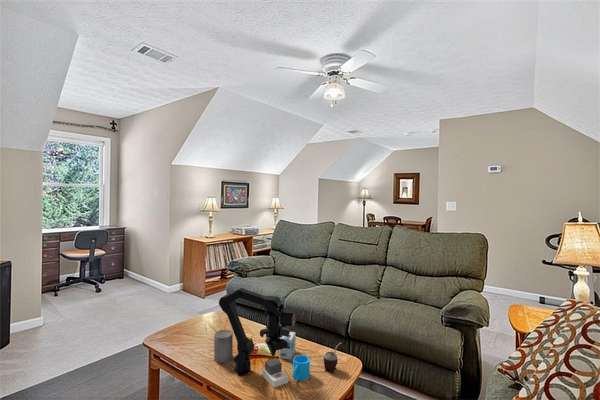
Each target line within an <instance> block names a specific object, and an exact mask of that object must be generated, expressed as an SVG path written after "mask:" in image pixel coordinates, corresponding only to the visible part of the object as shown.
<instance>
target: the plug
mask: <svg viewBox="0 0 600 400" xmlns="http://www.w3.org/2000/svg"><path fill="white" fill-rule="evenodd" d="M282 365H283V364H282V362H281V361H280V360H279V359H278V358H276V357H275V358H273V359H269V360H266V361H264V368H265V370H266V371H267V373H268V374H269V375H272V374H275V373H278V372H281V371H283V370H282Z"/></svg>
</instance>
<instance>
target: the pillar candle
mask: <svg viewBox="0 0 600 400" xmlns="http://www.w3.org/2000/svg"><path fill="white" fill-rule="evenodd" d="M233 334H234V332H233V330H230V329H220V330H216V332H214V334H213V335H214V337H213V339H214V341H213V342H214V344H213V347H214V348H213V349H214V351H213V353H214V354H213V358H214V359H213V360H214V362H215V363H217V364H222V363H223V364H224V363H228V362H230V361H232V360H233V357H234V353H233V352H234V351H233V349H234V348H233V345H234V344H233V343H234V342H233V340H234V339H233Z"/></svg>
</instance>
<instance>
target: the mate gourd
mask: <svg viewBox="0 0 600 400" xmlns="http://www.w3.org/2000/svg"><path fill="white" fill-rule="evenodd" d="M341 344H343V342H339V343H338V344H336V346H335V349H334V352H333V351H327V352H325V354H324V355H323V365H324V372H329V371H330V372H331V373H332V374H334V373H335V371H334V370H336V369H337V368H336V367H337V365H338V362H339V361H338V356H337V354H336V351H337V349H338V347H339V346H340V345H341Z"/></svg>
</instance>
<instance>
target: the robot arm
mask: <svg viewBox="0 0 600 400" xmlns="http://www.w3.org/2000/svg"><path fill="white" fill-rule="evenodd" d="M238 299H241V300H245V301H246V302H247V301H248V302H250V303H254V304H257V305H260V306H261V307H262V308H264V309H265V311H264V312H263V315H266V316H267V325H265V328H262V329H260V331H259V336H260V337H261V338H264V336H265V340H264V341H265V344H266V345H267V348H268V350H269V353H270V354H271V357H275V355H276V354H277V351H280V349H284V348H287V347H288V342H287V341H285V340H284V339H280V338H281V337H282V336H287V337H289V333H290V332H291V329H289V328H288V327H291V328H294V327H295V325H296V314H295V311H288V310H286V308H285V306H284V304H283V303H282V300H281V298H280V297H278V296H276V295H264V294H260V293H256V292H254V291H250V290H248V289H245V288H242V287H239V288H238V289H236V290H235V291H234V292H233V293H230V292H229V293H227V294H225V295H223V296H222V297H220V298H219V300H218V305H219V307H220V309H221V311H222V312H224V313H225V314H226V316H227V319H228V321H229V324H230V327H231V329H232V332H233V334H234V336H235V339H236V342H237V343H236V345H237V346H236V348H237V349H236V350H237V354H236V355H235V356H233V357H234V358H233V361H234V363H235V368H234V369H233V371H234V372H235V373H236V374H237V376H239V377H240V376H244V375H248V374H250V373H252V370H251V359H250V356H251V355H252V354H253V353H254V352H255V344H254V342H253V338H250V339H249V338H248V336H247V335H246V332H245V329H244V327H243V324H242V321H241V319H240V317H239V314H238V312H237V301H236V300H238Z"/></svg>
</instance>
